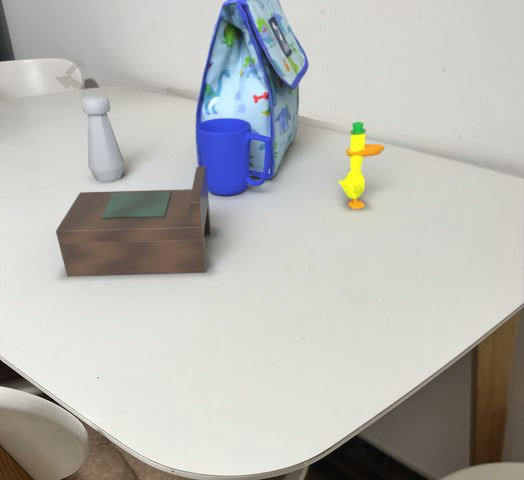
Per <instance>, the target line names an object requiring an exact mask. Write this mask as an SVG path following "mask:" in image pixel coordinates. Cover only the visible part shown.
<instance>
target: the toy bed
mask: <svg viewBox="0 0 524 480" xmlns="http://www.w3.org/2000/svg"><path fill="white" fill-rule="evenodd" d="M195 169H196V170H195V173H194V178H193V183H192V186H191V187H192V188H189V189H188V188H186V189H184V188H183V189H153V190H152V189H151V190H119V191H115V190H114V191H83V192H79V193H78V195H77V197H76V198H75V200H74V201H73V203H72V204H71V206H70V207H69V209H68V210H67V213H66V214H65V216H64V217H63V219H62V220H61V222H60V224H59V225H58V227H57V228H56V230H55V234H56V237H57V242H58V246H59V251H60V253H61V257H62V261H63V266H64V269H65V271H66V272H65V273H66V277H90V276H92V277H93V276H126V275H130V276H131V275H159V274H161V275H162V274H194V273H197V274H198V273H207V267H208V263H207V254H206V253H207V252H206V243H205V236H211V234H212V224H211V212H210V200H209V190H208V186H207V174H206V166H202V167H199V166H196V167H195Z"/></svg>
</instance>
